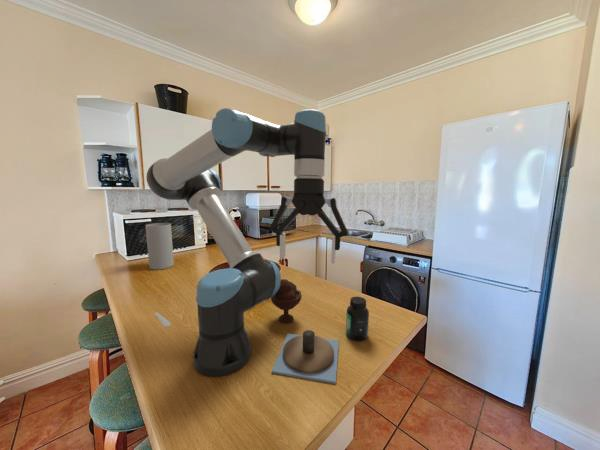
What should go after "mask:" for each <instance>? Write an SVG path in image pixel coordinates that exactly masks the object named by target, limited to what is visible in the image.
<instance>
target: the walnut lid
mask: <svg viewBox="0 0 600 450" xmlns="http://www.w3.org/2000/svg"><path fill="white" fill-rule="evenodd" d="M299 335H300V336H297V337H294V338H292V339H290V340H289V341H288V342H287V343H286V344H285V346H284V348H283V358H284V361H285V363H286V364H287V365H288V366H289V367H290V368H292V369H293V370H295V371H298V372H301V373H318V372H321V371H323V370H325V369H327V368H328V367H329V366H330V365H331V364H332V362H333V359H334V350H333V347H332V346H331V344H330V343H329V342H328V341H326V340H325V339H326V338H324V339H323V337H320V336H318V335H315V332H314V331H313V330H311V329H309V330H308V329H307V330H304V331H303V332H302V334H299Z"/></svg>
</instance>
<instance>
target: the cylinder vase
mask: <svg viewBox="0 0 600 450" xmlns="http://www.w3.org/2000/svg"><path fill="white" fill-rule="evenodd" d="M145 234H146V235H145V236H146V244H147V245H146V246H147V247H146V248H147V255H148V267H149V269H150V270H155V271H157V270H166V269H170V268H171V267H173V266H174V265H175V261H174V248H173V234H172V223H171V222H170V223H169V222H156V223H147V224H145Z"/></svg>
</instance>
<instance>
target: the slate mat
mask: <svg viewBox="0 0 600 450" xmlns="http://www.w3.org/2000/svg"><path fill="white" fill-rule="evenodd" d="M300 335H301V334H293V333H287V334H286V337H285V339H284V340H283V341H284V342H283V344H282V347H281V348H280V351H279V353H278V355H277V358H276V360H275V362H274V364H273V367H272V368H271V374H276V375H281V376H288V377H293V378H300V379H305V380H309V381H315V382H323V383H327V384H333V385H336V384H337V383H336V382H337V372H338V371H337V370H338V358H339V345H340V340H337V339H331V338H323V337H322V338H323V339H325V340H326V341H328V342H329V343H330V344H331V346H332V347H333V350H334V359H333V362H332V364H331V365H330V366H329V367H328V368H327V369H325V370H323V371H321V372H318V373H301V372H298V371H295V370H293V369H292V368H290V367H289V366H288V365H287V364H286V363H285V361H284V358H283V348H284V346H285V344H286V343H287V342H288V341H289V340H290V339H292V338H294V337H297V336H300Z"/></svg>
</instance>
